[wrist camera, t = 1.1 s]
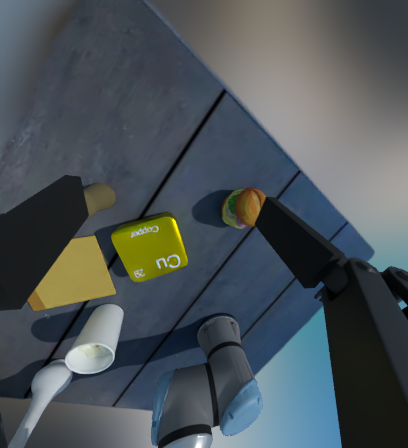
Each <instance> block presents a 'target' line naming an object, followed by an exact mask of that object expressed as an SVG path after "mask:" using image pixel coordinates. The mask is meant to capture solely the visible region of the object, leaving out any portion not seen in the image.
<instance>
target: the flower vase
mask: <svg viewBox="0 0 408 448" xmlns="http://www.w3.org/2000/svg"><path fill="white" fill-rule="evenodd" d="M72 376H73V372H72V370H70V369H69V368H68V367H67V366H66V364H65V359H57V360H54V361H52V362H51V363H49V365H47V366H45V367H43V368H42V369H41V370H39V371H38V372H37V373H36V375H35V376H34V378H33V380H32V385H31V390H32V393H33V397H32V401H31V404H30V407H29V409H28V411H27V413H26V415H25V417H24V419H23V421H22V422H21V425H20V426H19V428H18V430H17V431H16V433H15V435H14V437H13V439H12V440H11V442H10V444H9V445H8V448H24V446H25V444H26V442H27V440H28V438H29V436H30V434H31V432H32V430H33V429H34V427H35V425H36V423H37V421H38V419H39V418H40V416H41V414H42V412H43V410H44V409H45V408H46V406H47V405H48V403H49V402H50V401H51V400H52V399H53V398H54V397H55V396H56V395H57V394H59V393H60V392H62V391H63V390H64V389H65V388H66V387H67V386H68V384H69V383H70V381H71V380H72Z"/></svg>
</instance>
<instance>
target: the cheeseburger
mask: <svg viewBox="0 0 408 448" xmlns="http://www.w3.org/2000/svg"><path fill="white" fill-rule="evenodd" d="M265 198H266V196H265V195H264V194H263V193H262V192H261V191H260V190H258V189H254V188H246V189H245V190H241V189H238V190H235V191H233V192H232V193H231V194H230V195H228V196H227V197H226V199H225V200H224V202H223V205H222V208H221V209H222V219H223V221H224V222H225V223H226V224H228V225H231V226H233V227H235V228H238V229H242V228H244V227H246V226H255V221H256V219H257V217H258V214H259V212H260V210H261V207H262V205H263V203H264V200H265Z"/></svg>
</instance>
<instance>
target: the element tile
mask: <svg viewBox="0 0 408 448" xmlns="http://www.w3.org/2000/svg"><path fill="white" fill-rule="evenodd" d="M111 240H112V242H113V244H114V246H115V248H116V250H117V252H118V254H119V256H120V258H121V260H122V262H123V264H124V266H125V268H126V270H127V272H128V274H129V276H130V278H131V279H132V280H133V281H135V282H143V281H146V280H149V279H152V278H155V277H158V276H161V275H164V274H167V273H170V272H173V271H177V270H180V269H182V268H184V267H186V266H187V264H188V258H187V253H186V250H185V247H184V244H183V240H182V237H181V234H180V231H179V228H178V225H177V221H176V218H175V216H174V215H173V214H172V213H168V212H166V213H162V214H158V215H154V216H151V217H147V218H144V219H140V220H137V221H133V222H129V223H126V224H122V225H120V226H119V227H117V228H116V230H115V231H114V232H113V233H112V235H111Z"/></svg>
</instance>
